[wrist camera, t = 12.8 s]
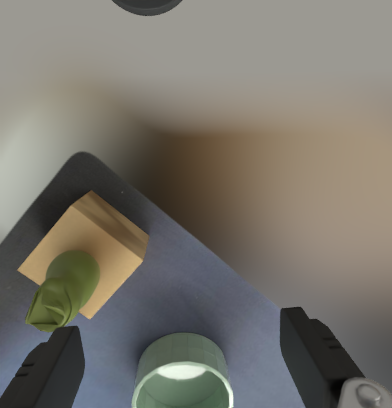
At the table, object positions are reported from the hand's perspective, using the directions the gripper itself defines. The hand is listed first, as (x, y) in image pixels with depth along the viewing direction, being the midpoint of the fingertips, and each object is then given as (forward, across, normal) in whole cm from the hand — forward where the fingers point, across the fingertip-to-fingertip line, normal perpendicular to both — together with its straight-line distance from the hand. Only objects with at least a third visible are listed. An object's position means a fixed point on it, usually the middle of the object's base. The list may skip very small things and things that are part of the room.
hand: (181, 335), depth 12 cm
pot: (+30, +2, +30) cm, 42 cm away
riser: (+30, +12, +7) cm, 33 cm away
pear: (+22, +12, +7) cm, 26 cm away
